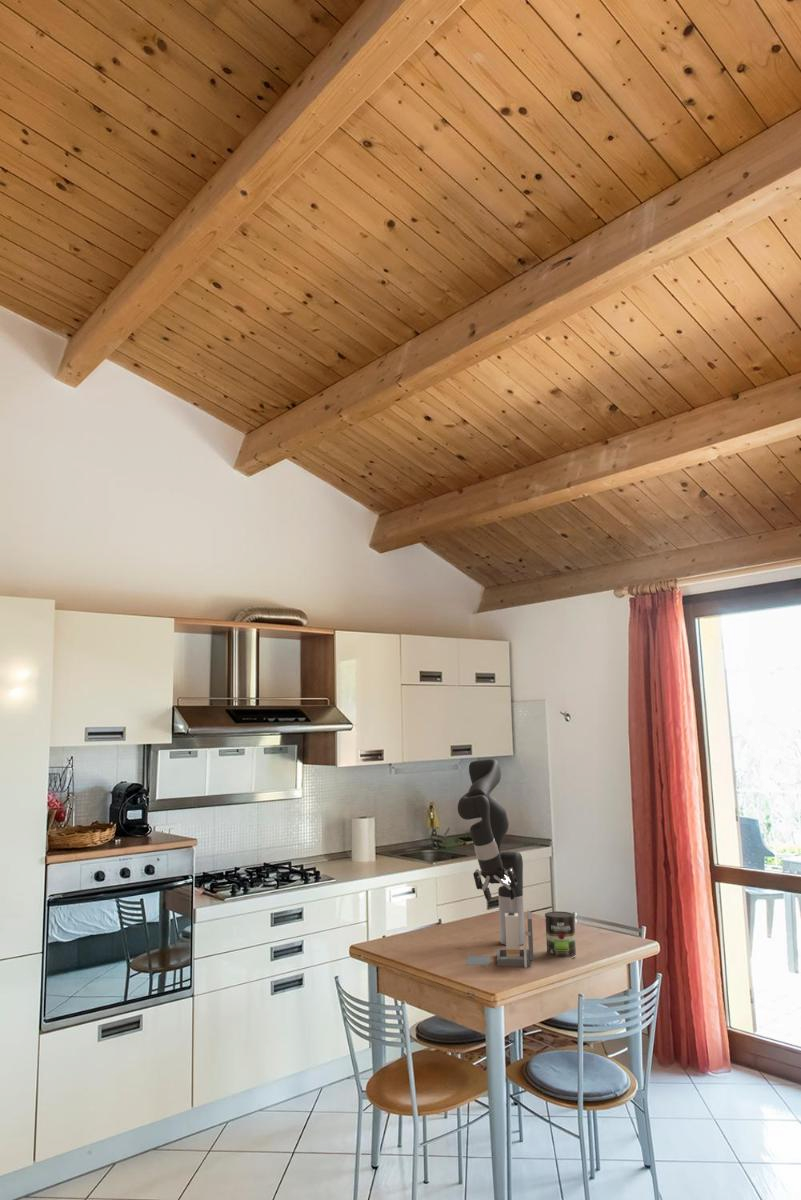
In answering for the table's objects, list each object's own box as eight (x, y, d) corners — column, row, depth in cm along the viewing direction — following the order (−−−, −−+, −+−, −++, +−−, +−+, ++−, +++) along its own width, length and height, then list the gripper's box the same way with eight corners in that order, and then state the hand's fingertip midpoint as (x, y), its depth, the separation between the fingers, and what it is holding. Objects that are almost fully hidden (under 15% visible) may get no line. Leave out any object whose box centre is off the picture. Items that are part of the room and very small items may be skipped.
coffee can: (577, 960, 283) (575, 917, 285) (547, 959, 284) (545, 917, 287) (575, 952, 293) (573, 911, 295) (546, 952, 294) (544, 911, 297)
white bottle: (506, 958, 283) (504, 910, 285) (519, 958, 282) (517, 910, 285) (506, 962, 278) (504, 913, 280) (520, 962, 277) (518, 913, 280)
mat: (467, 958, 287) (467, 955, 288) (490, 958, 287) (490, 955, 287) (465, 967, 276) (465, 964, 276) (489, 968, 275) (489, 965, 275)
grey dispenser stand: (497, 958, 287) (495, 910, 290) (532, 958, 286) (530, 910, 288) (497, 970, 272) (495, 919, 275) (534, 970, 271) (531, 920, 273)
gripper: (511, 847, 270) (524, 892, 271) (472, 849, 277) (485, 894, 278) (503, 858, 263) (517, 904, 264) (464, 860, 270) (478, 905, 271)
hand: (501, 899), depth 271 cm, fingers open, 8 cm apart
